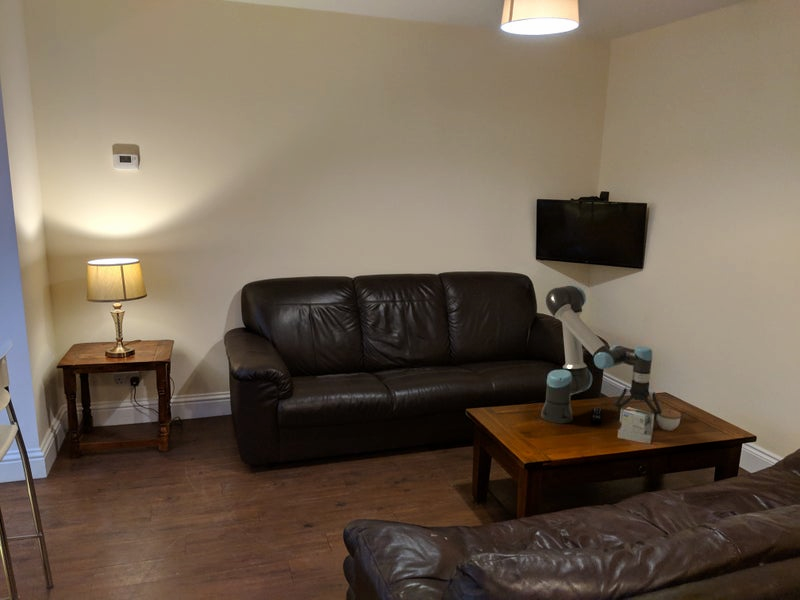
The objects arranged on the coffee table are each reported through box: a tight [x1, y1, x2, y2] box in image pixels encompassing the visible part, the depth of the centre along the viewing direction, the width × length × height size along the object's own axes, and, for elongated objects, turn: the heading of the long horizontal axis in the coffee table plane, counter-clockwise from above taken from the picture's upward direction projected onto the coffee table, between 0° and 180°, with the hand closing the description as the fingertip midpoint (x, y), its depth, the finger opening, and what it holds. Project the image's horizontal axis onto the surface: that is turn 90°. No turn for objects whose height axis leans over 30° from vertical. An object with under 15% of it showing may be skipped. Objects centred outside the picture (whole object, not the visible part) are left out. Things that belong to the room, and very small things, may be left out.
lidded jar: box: [656, 408, 682, 431], centre depth 287 cm, size 11×11×9 cm
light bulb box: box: [621, 406, 652, 435], centre depth 279 cm, size 11×7×11 cm, turn 48°
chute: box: [617, 422, 654, 445], centre depth 279 cm, size 14×15×4 cm
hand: (636, 424), depth 279 cm, fingers open, 13 cm apart
